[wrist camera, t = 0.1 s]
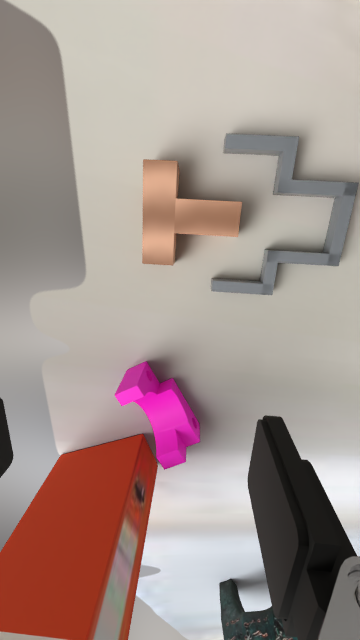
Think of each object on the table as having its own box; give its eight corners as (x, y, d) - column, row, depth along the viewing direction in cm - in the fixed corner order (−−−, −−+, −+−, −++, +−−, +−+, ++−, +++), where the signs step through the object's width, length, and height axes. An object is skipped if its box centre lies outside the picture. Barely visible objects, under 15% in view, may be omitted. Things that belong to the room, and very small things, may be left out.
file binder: (60, 452, 51) (-140, 776, 21) (142, 431, 48) (49, 770, 18) (79, 482, 53) (-77, 814, 23) (157, 464, 50) (99, 814, 20)
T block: (149, 167, 34) (143, 159, 31) (240, 171, 34) (246, 164, 30) (147, 260, 38) (142, 263, 34) (230, 265, 38) (234, 269, 34)
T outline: (224, 139, 33) (226, 133, 31) (359, 144, 32) (369, 139, 30) (210, 288, 39) (211, 291, 37) (323, 295, 38) (330, 298, 36)
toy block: (199, 423, 47) (200, 456, 40) (168, 434, 48) (164, 469, 41) (159, 354, 43) (152, 378, 36) (127, 369, 44) (114, 395, 37)
